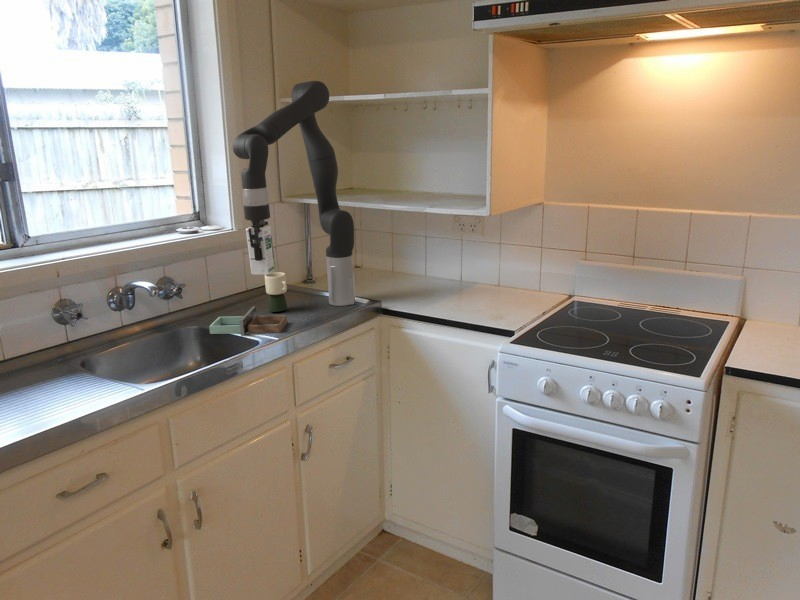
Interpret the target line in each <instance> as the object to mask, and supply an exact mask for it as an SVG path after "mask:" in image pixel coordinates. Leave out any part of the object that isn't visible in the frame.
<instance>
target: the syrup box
mask: <svg viewBox="0 0 800 600" xmlns="http://www.w3.org/2000/svg"><path fill="white" fill-rule="evenodd" d="M249 228H251V226H249V227H247V228H245V232H246V234H245V235H246V243H247V249H248V250H247V251H248V259H249V265H250V266H249V267H250V273H251V275H255V276H258V275H259V276H260V275H261V276H265V275H269V274H270V273H274V272H275V271H276V261H275V253H274V246H273V245H274V244H273V237H272V227H271V225H270V224H268V225H266V226H264V227H260V232H259V234H258V235H259V238H260V237H262V238H263V239H262V241H261V244H262V256H263V259H262V260H261V261H256V260H255V255H254V248H253V247H252V248H251V244H250V237H249V231H248V229H249ZM255 243H257V241H255Z"/></svg>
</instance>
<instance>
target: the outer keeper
mask: <svg viewBox="0 0 800 600" xmlns="http://www.w3.org/2000/svg"><path fill="white" fill-rule="evenodd" d="M243 316H244V315H241V316H238V315H236V316H234V315H233V316H231V315H230V316H218V317H217V318H216V319H215V320H214V321H213V322H212V323H211V324H210V325H209V327H208V328H209V334H210V335H221V334H222V335H223V334H225V335H227V334H229V335H232V334H234V335H235V334H241V330H240V321H239V320H240V319H241V318H242V317H243Z"/></svg>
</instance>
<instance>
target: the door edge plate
mask: <svg viewBox="0 0 800 600" xmlns="http://www.w3.org/2000/svg"><path fill="white" fill-rule="evenodd" d="M242 316H243V317H242V318H241V319H240V320H239V321H240V324H239V325H240V330H241V333H240V336H241V337H245V336H246V334H248V324H249V323H250V322H251V321H252V320H253V319H254V318H255V317H256V316H258V315H257V307H256V306H255V305H254V306H252V307H250V309H248V311H247V312H246V313H245V314H244V315H242Z"/></svg>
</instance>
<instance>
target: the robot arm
mask: <svg viewBox="0 0 800 600" xmlns="http://www.w3.org/2000/svg"><path fill="white" fill-rule="evenodd" d="M291 101H292V102H290V103H289V104H287V105H285V106H284V107H281V108H279V109H278V110H275V111H274V112H272V113H270V114H269V115H268V116H267V117H266V118H265V117H264V119H262V121H261V122H259V123H258V124H257V125H255V126H253V127H250V128H249V129H246V130H245V131H243V132H241V133H239V134H238V135H237V136H236V137H235V138H234V140H233V143H232V152H233V153H234V155H235V156H236V157H237V158H239V159H242V160H249V161H248V162H249V163H248V167H245V168H243V169H242V170H241V172H240V173H241V174H240V177H241V185H242V203H243V211H244V212H243V213H244V219H245V220H246V221H250V222H251V226H250V227H251V228H249V227H248V228H249V229H248V231H249V237H250V244H251V248H252V247H253V248H254V255H255V260H256V261H261V260H262V259H263V256H262V244H261V241H262V239H263V238H262V237H260V238H259V235H258V234H259V232H260V227H264V226H266V225H269V222H268V221H267V220H269V219H270V218H271V211H270V210H271V209H270V202H269V201H270V200H269V193H268V188H267V179H266V171H267V166H268V157H269V146H270V145H273V144H275V143H276V142H277V141H279V139H281V138H282V137H283V136H284V135H285V134H287V133H288V132H289V131H290V130H291V129H293V128H294V127H296V126H297V125H298V124H299V129H300V131H301V136H302V138H303V143H304V147H305V151H306V155H307V160H308V161H307V162H308V166H309V171H310V174H311V178H312V183H313V186H314V190H315V195H316V199H317V200H316V202H317V207H318V208H317V209H318V217H319V218H318V219H319V222H320V223H319V224H320V226H321V229H322V231H324V233H326V234H327V235H329V241H330V242H329V246H327V247H326V249H325V257H326V260H325V261H326V273H327V275H326V276H327V289H328V302H329V305H331V306H335V307H336V306H337V307H338V306H339V307H340V306H341V307H343V306H350V305H355V303H356V301H355V298H356V297H357V296H356V295H357V294H356V278H355V274H354V260H353V259H354V258H353V250H354V246H355V225H354V219H353V217H352V214H351V213H350V212H348V210H347V211H346V210H343V209H341V208H340V205H339V202H338V197H337V182H338V177H339V168H338V161H337V158H336V157H337V156H336V153H335V149H334V147H333V145H332V144H331V142H330V141H329V140H328V138H327V137H326V135H325V134H324V133H323V131H322V130H321V129H320V127H319V124H318V122H317V118H316V113H317V112H320V111H322V110H323V109H325V108H326V107H327V105H328V104H329V101H330V92H329V88H328V87H327V85H326V84H325V83H324V82H323V81H320V80H310V81H304V82H303V81H302V82H299V83H296V84H294V85H293V87H292V89H291ZM255 241H257V243H255Z"/></svg>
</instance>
